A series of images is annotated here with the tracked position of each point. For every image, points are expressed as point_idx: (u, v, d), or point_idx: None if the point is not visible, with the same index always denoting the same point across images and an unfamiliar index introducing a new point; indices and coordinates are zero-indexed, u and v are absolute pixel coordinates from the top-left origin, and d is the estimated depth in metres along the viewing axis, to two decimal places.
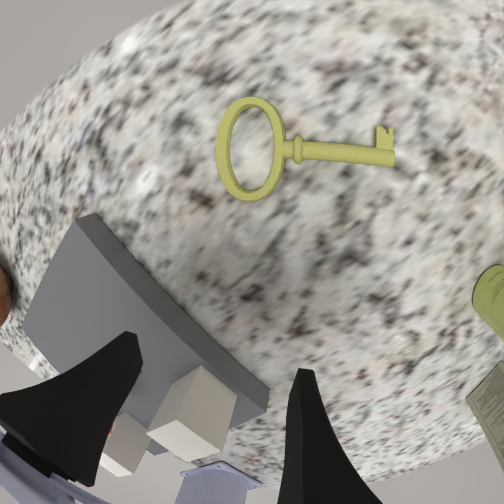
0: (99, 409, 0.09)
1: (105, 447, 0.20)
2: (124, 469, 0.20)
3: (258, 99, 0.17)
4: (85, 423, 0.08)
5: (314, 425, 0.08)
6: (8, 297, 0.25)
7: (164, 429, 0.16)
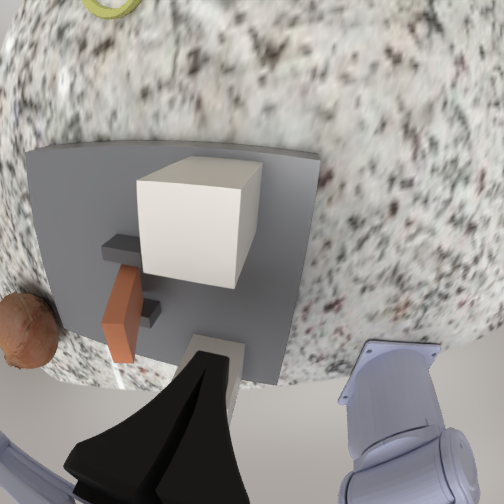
0: None
1: None
2: None
3: None
4: (173, 458, 0.07)
5: (207, 408, 0.08)
6: (45, 311, 0.26)
7: (145, 227, 0.11)
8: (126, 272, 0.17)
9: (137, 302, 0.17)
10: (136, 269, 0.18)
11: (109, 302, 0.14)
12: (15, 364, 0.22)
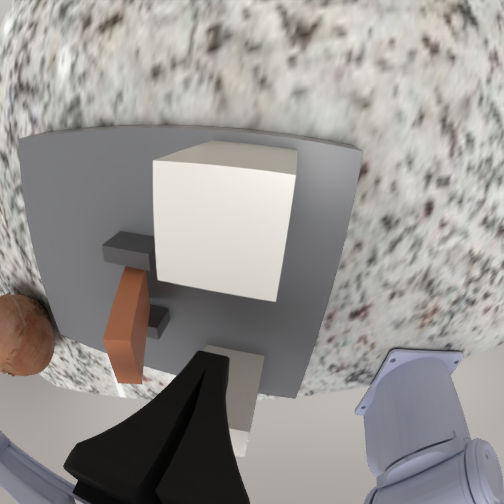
0: None
1: None
2: (233, 431, 0.13)
3: None
4: (173, 458, 0.07)
5: (207, 408, 0.08)
6: (39, 315, 0.23)
7: (162, 223, 0.08)
8: (131, 276, 0.15)
9: (144, 311, 0.15)
10: (143, 272, 0.15)
11: (112, 313, 0.12)
12: (8, 371, 0.20)
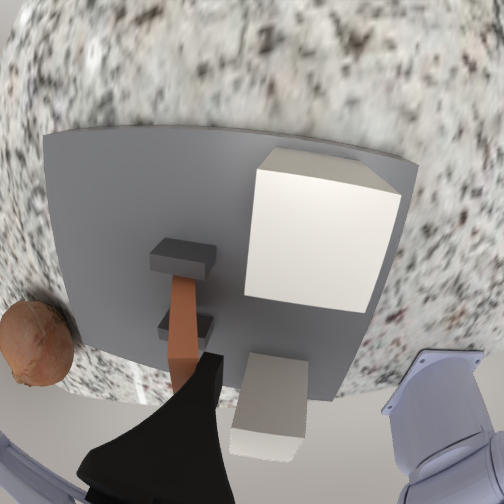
0: None
1: (237, 418, 0.14)
2: (287, 438, 0.13)
3: None
4: None
5: (196, 405, 0.08)
6: (58, 323, 0.23)
7: (260, 236, 0.08)
8: (182, 286, 0.14)
9: None
10: (194, 282, 0.15)
11: (171, 327, 0.12)
12: (25, 382, 0.20)
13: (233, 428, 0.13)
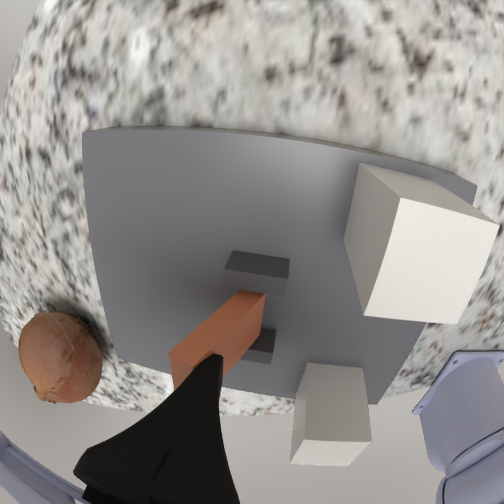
0: None
1: (307, 429, 0.14)
2: (355, 444, 0.13)
3: None
4: None
5: (199, 406, 0.08)
6: (87, 336, 0.23)
7: (392, 260, 0.08)
8: (243, 299, 0.14)
9: (243, 339, 0.14)
10: (258, 300, 0.14)
11: (197, 330, 0.12)
12: (50, 399, 0.19)
13: (305, 440, 0.13)
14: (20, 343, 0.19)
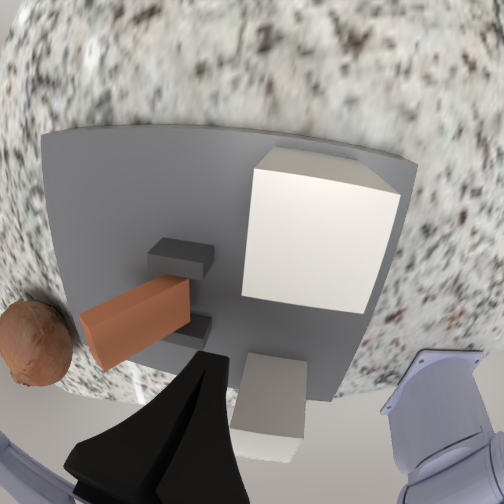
0: None
1: (235, 418, 0.14)
2: (285, 439, 0.13)
3: None
4: (173, 458, 0.07)
5: (207, 408, 0.08)
6: (57, 323, 0.23)
7: (258, 236, 0.08)
8: (164, 281, 0.15)
9: (161, 319, 0.14)
10: (177, 284, 0.15)
11: (109, 301, 0.13)
12: (23, 382, 0.20)
13: (231, 429, 0.13)
14: None
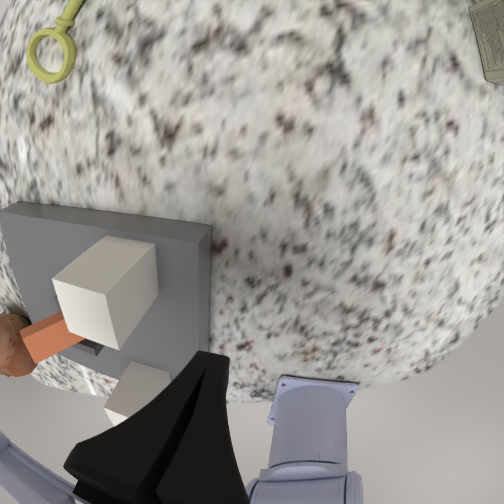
0: None
1: (108, 402, 0.20)
2: None
3: (31, 38, 0.14)
4: (173, 458, 0.07)
5: (207, 408, 0.08)
6: None
7: (63, 306, 0.14)
8: None
9: (65, 335, 0.20)
10: None
11: (35, 323, 0.18)
12: (4, 373, 0.26)
13: (104, 408, 0.19)
14: None
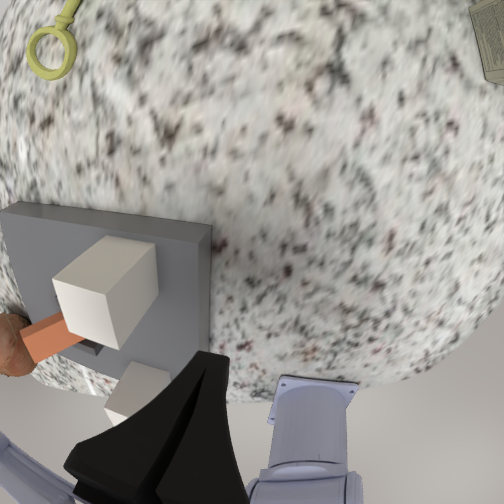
0: None
1: (108, 402, 0.20)
2: None
3: (31, 37, 0.14)
4: (173, 458, 0.07)
5: (207, 408, 0.08)
6: None
7: (63, 306, 0.14)
8: None
9: (65, 335, 0.20)
10: None
11: (35, 323, 0.18)
12: (4, 373, 0.26)
13: (104, 408, 0.19)
14: None
